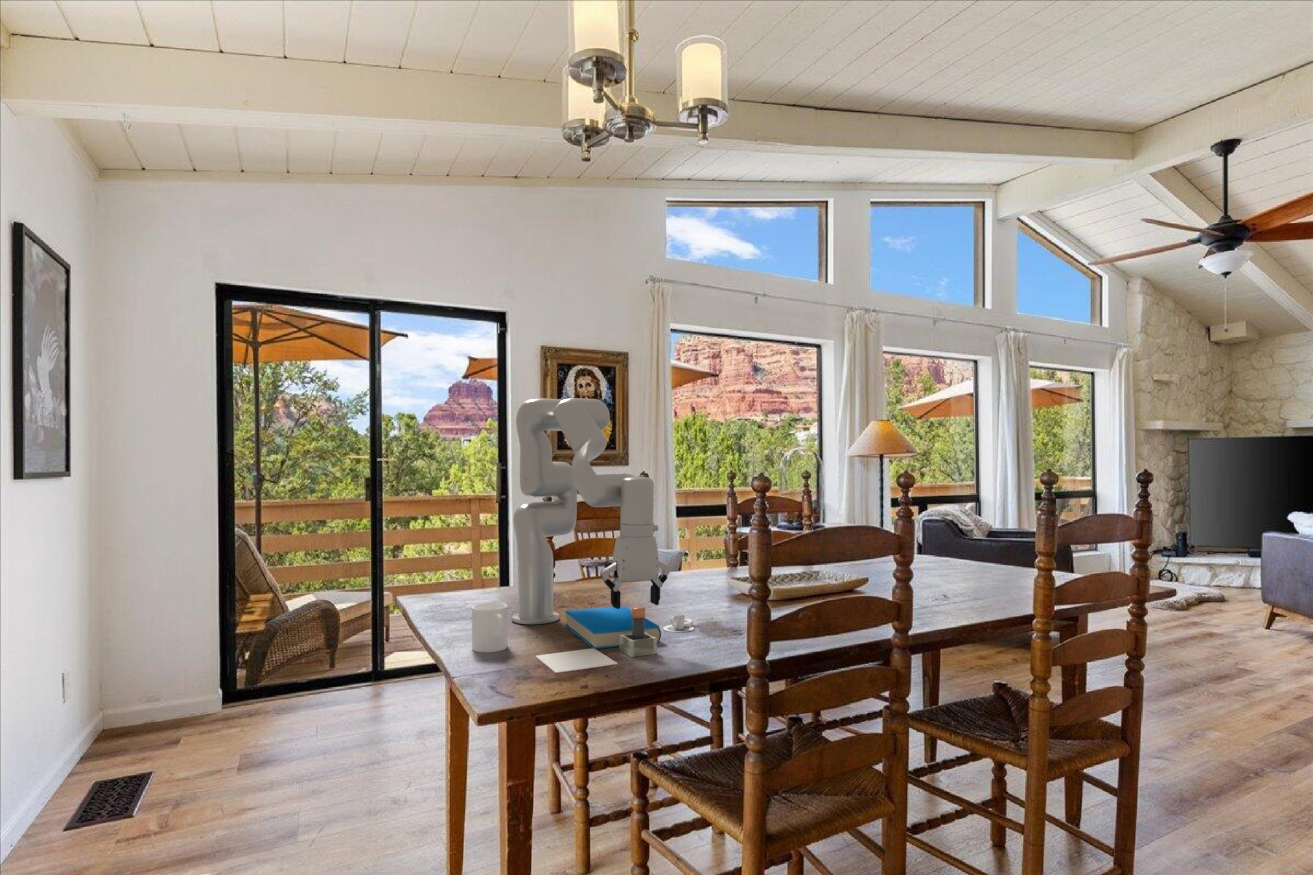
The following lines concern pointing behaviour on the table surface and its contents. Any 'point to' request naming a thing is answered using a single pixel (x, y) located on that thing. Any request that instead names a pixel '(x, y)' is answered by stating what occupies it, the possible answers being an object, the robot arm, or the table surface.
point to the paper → (575, 660)
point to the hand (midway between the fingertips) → (635, 605)
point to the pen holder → (638, 645)
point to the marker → (638, 623)
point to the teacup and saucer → (680, 623)
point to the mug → (489, 627)
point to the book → (605, 625)
